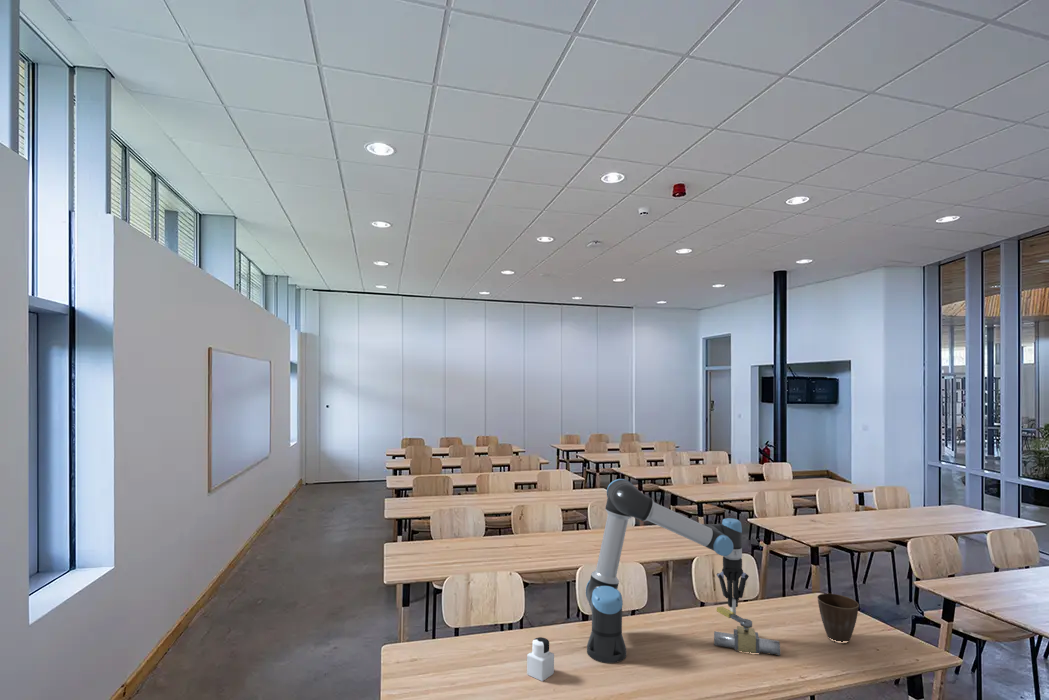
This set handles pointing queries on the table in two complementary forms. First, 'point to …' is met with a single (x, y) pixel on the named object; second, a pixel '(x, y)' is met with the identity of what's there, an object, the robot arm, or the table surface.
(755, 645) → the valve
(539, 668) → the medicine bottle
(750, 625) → the lever
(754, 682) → the table surface
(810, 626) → the table surface
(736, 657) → the table surface
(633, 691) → the table surface
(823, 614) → the plant pot
